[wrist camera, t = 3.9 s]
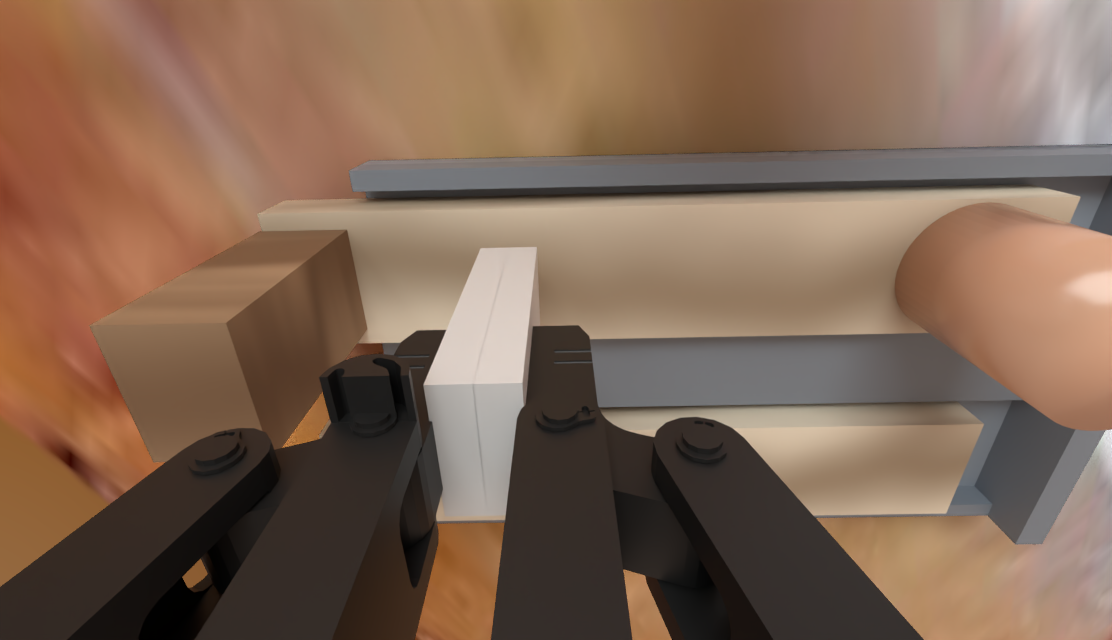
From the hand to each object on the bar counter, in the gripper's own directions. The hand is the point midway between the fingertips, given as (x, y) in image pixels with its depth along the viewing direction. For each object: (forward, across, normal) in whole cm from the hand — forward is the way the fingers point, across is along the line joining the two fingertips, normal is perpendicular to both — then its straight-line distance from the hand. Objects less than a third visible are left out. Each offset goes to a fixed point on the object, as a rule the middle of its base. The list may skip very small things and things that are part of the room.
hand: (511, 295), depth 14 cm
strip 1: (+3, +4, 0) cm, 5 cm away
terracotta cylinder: (+1, +13, 0) cm, 13 cm away
